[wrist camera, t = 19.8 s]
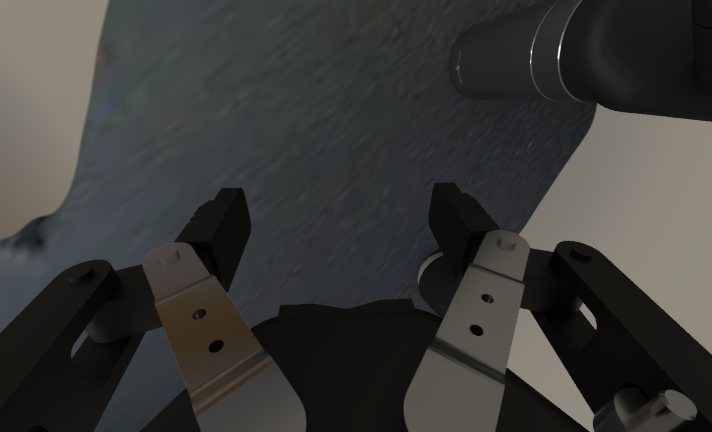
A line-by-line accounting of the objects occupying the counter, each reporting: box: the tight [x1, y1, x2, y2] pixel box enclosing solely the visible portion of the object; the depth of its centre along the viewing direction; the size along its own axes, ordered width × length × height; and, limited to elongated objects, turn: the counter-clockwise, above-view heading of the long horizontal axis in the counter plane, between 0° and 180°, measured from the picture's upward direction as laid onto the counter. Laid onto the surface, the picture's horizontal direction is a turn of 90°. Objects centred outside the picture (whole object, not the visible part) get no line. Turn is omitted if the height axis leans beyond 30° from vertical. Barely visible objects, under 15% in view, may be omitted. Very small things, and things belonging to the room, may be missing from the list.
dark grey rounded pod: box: [418, 252, 461, 319], centre depth 46 cm, size 10×10×15 cm
